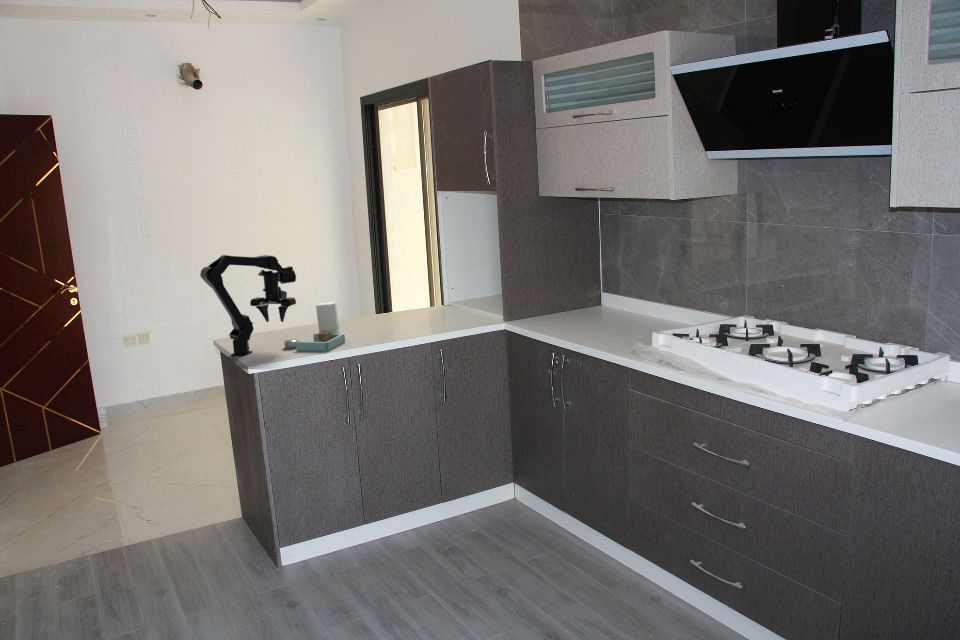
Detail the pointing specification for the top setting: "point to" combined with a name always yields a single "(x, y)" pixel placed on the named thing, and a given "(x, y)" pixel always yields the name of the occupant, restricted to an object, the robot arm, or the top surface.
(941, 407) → the top surface
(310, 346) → the parts bay
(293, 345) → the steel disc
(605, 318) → the top surface
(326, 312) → the skincare box
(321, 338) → the walnut block
